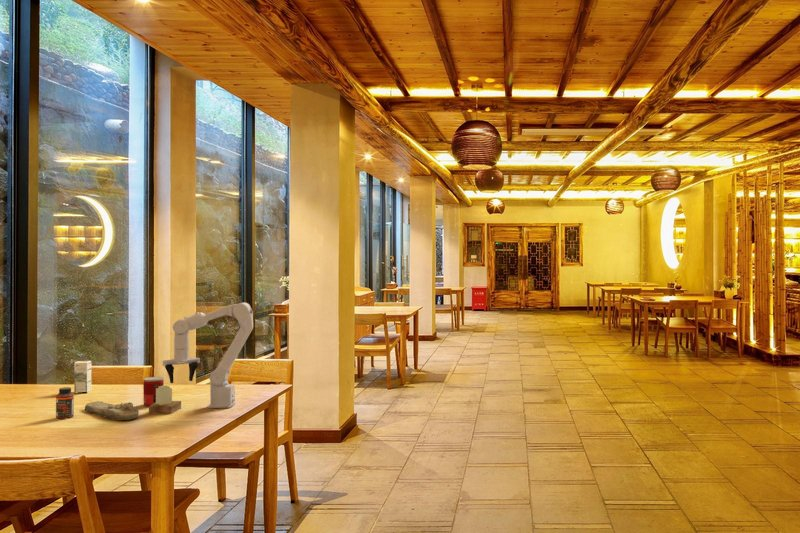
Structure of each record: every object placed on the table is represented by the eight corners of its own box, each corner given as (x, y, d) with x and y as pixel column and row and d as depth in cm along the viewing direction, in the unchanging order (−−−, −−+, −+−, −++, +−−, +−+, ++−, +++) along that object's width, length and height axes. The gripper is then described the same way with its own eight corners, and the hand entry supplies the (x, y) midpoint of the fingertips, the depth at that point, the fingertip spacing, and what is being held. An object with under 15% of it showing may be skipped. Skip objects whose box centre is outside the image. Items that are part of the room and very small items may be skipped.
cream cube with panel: (167, 401, 239) (167, 384, 239) (171, 403, 235) (172, 386, 235) (155, 403, 236) (156, 386, 236) (160, 405, 232) (160, 387, 232)
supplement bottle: (55, 420, 221) (55, 390, 222) (56, 417, 227) (56, 387, 227) (73, 418, 224) (73, 388, 224) (73, 415, 229) (74, 386, 230)
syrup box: (91, 390, 278) (91, 360, 278) (86, 393, 272) (87, 361, 273) (79, 391, 277) (79, 360, 278) (73, 393, 272) (73, 362, 272)
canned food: (156, 406, 243) (156, 380, 243) (139, 406, 245) (139, 379, 245) (167, 403, 251) (167, 377, 251) (150, 402, 252) (150, 376, 252)
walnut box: (181, 409, 240) (181, 400, 240) (171, 414, 231) (171, 405, 231) (159, 409, 240) (159, 400, 240) (148, 414, 231) (148, 405, 231)
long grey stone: (102, 410, 245) (77, 415, 238) (101, 397, 245) (76, 402, 238) (146, 417, 224) (121, 424, 216) (145, 403, 224) (120, 409, 216)
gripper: (165, 350, 235) (165, 385, 235) (202, 348, 244) (202, 381, 244) (161, 349, 241) (160, 382, 241) (197, 346, 249) (196, 378, 249)
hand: (181, 381), depth 243 cm, fingers open, 7 cm apart
